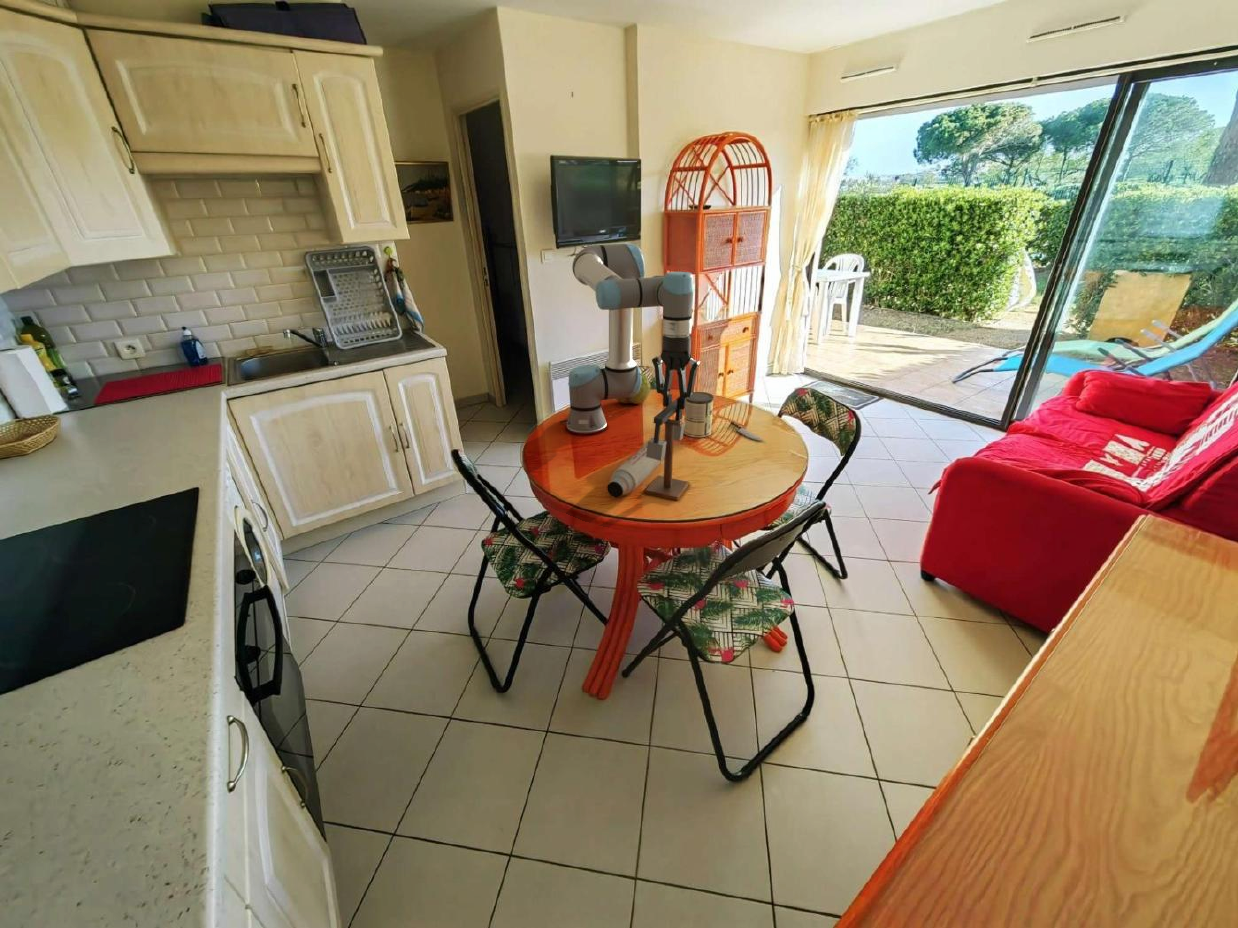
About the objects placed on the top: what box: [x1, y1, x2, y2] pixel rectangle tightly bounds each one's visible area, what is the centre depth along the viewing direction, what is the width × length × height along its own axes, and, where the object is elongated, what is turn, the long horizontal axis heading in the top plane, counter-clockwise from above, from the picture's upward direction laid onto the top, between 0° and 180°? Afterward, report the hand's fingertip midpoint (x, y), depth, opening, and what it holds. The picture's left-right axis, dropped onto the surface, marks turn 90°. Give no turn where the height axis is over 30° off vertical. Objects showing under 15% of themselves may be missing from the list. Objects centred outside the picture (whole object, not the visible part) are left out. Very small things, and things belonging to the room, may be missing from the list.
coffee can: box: [683, 391, 715, 438], centre depth 187 cm, size 10×10×14 cm
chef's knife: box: [730, 421, 764, 442], centre depth 188 cm, size 19×1×3 cm
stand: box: [644, 418, 690, 501], centre depth 147 cm, size 10×10×22 cm
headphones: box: [646, 397, 685, 461], centre depth 143 cm, size 4×17×12 cm, turn 153°
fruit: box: [616, 372, 651, 405], centre depth 217 cm, size 16×14×15 cm
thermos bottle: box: [606, 441, 664, 499], centre depth 154 cm, size 8×8×28 cm
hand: (673, 418), depth 145 cm, fingers closed on headphones, 2 cm apart
